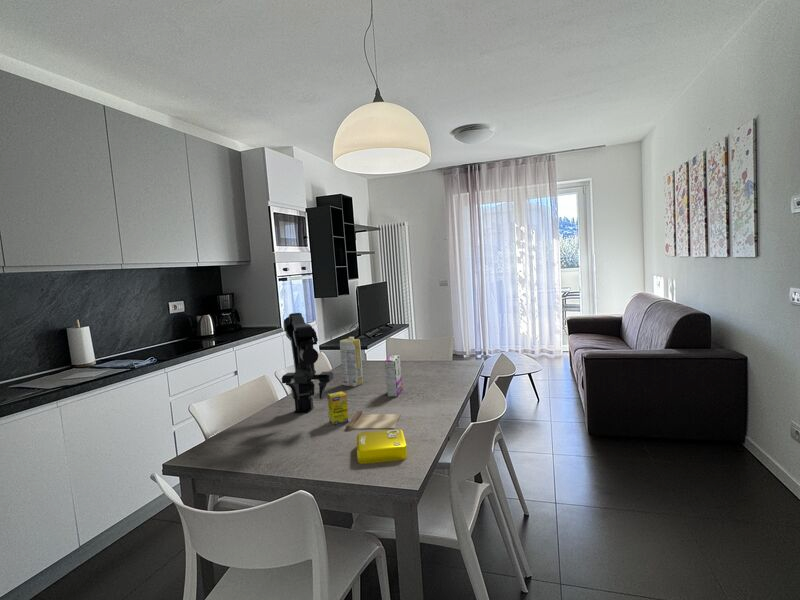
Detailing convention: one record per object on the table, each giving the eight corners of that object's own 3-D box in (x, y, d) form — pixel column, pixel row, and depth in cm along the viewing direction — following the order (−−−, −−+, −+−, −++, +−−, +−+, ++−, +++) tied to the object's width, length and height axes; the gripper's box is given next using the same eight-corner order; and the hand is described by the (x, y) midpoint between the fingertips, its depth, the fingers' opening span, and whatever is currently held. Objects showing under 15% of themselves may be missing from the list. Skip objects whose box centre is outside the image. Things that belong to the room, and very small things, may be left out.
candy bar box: (392, 389, 203) (389, 355, 202) (402, 389, 202) (400, 355, 201) (386, 397, 192) (384, 360, 191) (397, 396, 191) (395, 360, 190)
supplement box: (333, 426, 160) (331, 397, 159) (329, 421, 166) (326, 393, 165) (349, 422, 163) (346, 394, 162) (344, 418, 168) (341, 390, 167)
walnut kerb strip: (346, 430, 155) (345, 426, 155) (357, 414, 171) (357, 411, 171) (351, 430, 155) (351, 426, 155) (362, 414, 171) (361, 410, 171)
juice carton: (365, 383, 217) (361, 336, 216) (355, 387, 211) (351, 338, 209) (350, 381, 222) (347, 335, 221) (340, 385, 216) (337, 338, 214)
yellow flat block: (357, 445, 142) (356, 431, 142) (403, 440, 144) (402, 426, 143) (357, 465, 128) (356, 450, 127) (408, 460, 129) (407, 445, 129)
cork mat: (350, 429, 156) (350, 428, 156) (360, 415, 170) (360, 414, 170) (394, 428, 154) (394, 427, 154) (400, 415, 167) (400, 414, 167)
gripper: (273, 364, 157) (277, 406, 159) (322, 363, 154) (326, 406, 156) (286, 358, 168) (289, 397, 170) (332, 356, 165) (335, 396, 167)
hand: (309, 399), depth 165 cm, fingers open, 9 cm apart
